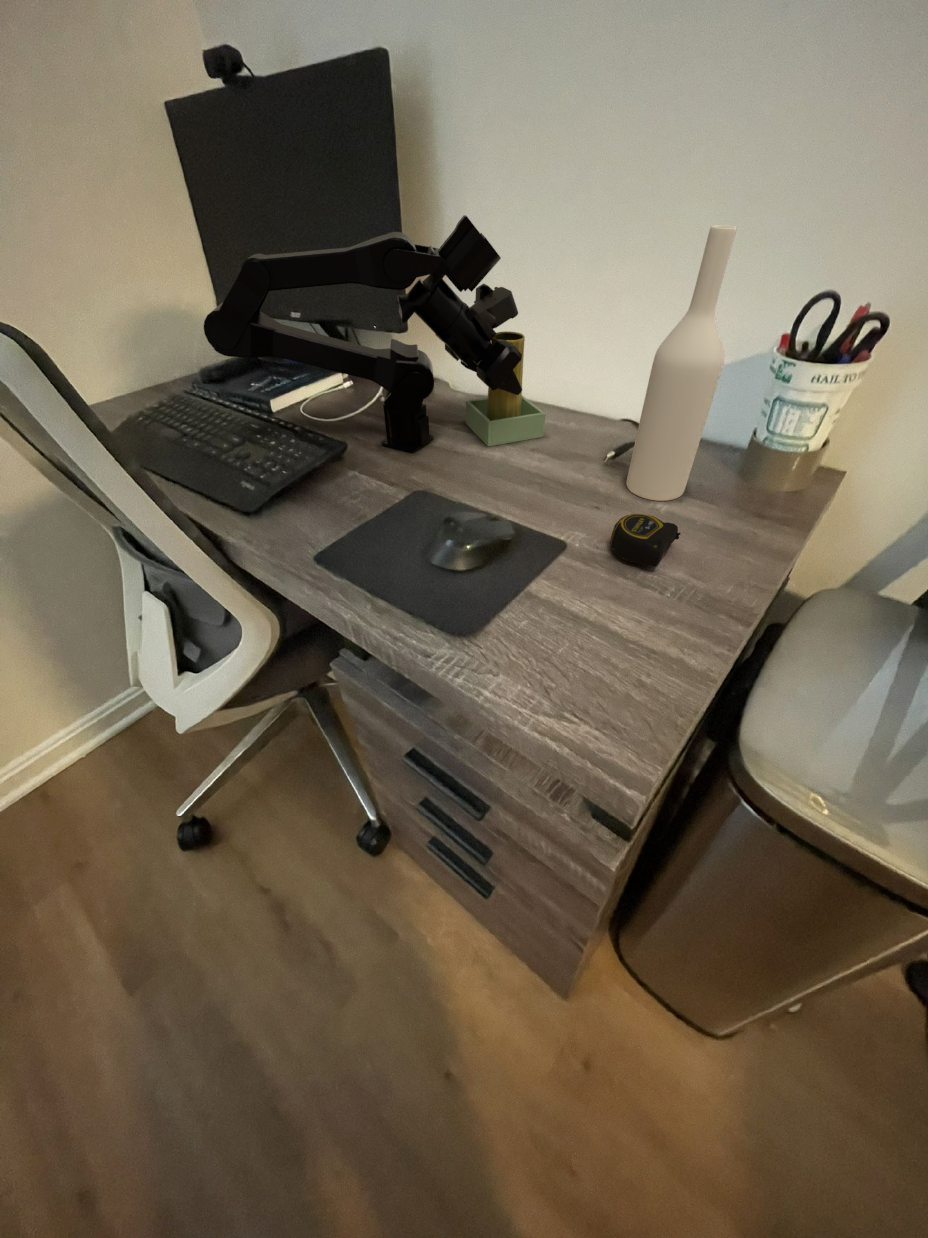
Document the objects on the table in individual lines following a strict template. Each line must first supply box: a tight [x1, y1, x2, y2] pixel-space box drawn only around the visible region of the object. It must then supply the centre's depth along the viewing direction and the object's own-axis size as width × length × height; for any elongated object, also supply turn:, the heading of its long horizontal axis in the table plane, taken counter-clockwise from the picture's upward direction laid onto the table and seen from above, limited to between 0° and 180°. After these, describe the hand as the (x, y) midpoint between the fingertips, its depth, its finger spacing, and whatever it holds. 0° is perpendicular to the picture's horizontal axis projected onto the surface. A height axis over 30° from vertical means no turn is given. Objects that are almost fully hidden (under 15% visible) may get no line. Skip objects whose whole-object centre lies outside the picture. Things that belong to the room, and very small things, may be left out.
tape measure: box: [610, 513, 682, 568], centre depth 61 cm, size 7×7×4 cm
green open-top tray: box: [465, 395, 546, 447], centre depth 88 cm, size 10×10×4 cm
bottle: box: [625, 224, 738, 502], centre depth 64 cm, size 8×8×30 cm
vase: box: [487, 330, 526, 421], centre depth 84 cm, size 6×6×14 cm
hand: (512, 386), depth 85 cm, fingers closed on vase, 5 cm apart
